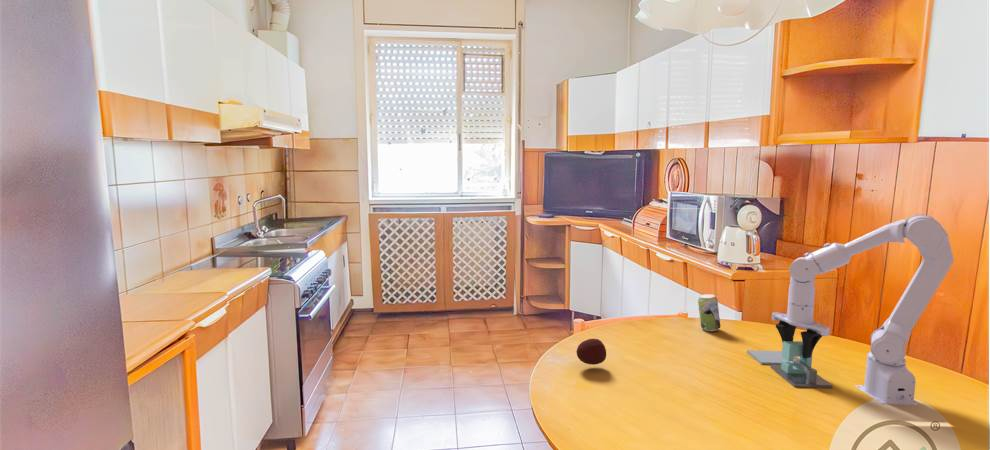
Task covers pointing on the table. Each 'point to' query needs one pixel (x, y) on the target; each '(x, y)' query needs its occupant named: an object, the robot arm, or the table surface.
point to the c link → (791, 351)
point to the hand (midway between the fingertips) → (797, 353)
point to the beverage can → (709, 312)
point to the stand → (802, 376)
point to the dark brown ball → (591, 351)
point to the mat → (768, 357)
